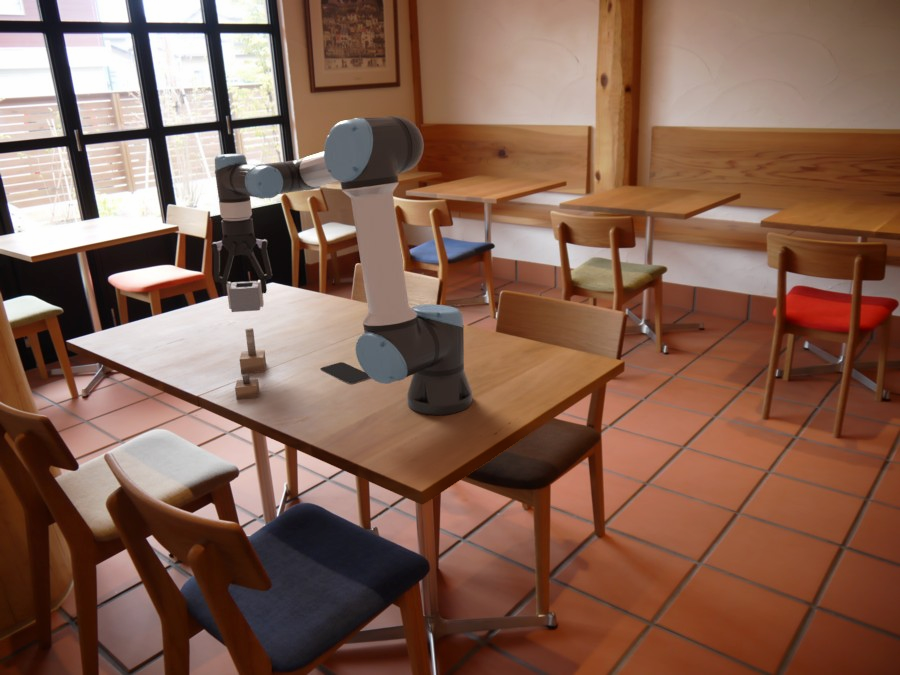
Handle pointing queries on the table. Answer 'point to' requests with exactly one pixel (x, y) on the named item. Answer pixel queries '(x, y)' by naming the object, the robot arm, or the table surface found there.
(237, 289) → the grey hollow square block
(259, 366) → the wooden peg stand
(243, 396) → the block
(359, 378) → the smartphone
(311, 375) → the table surface
